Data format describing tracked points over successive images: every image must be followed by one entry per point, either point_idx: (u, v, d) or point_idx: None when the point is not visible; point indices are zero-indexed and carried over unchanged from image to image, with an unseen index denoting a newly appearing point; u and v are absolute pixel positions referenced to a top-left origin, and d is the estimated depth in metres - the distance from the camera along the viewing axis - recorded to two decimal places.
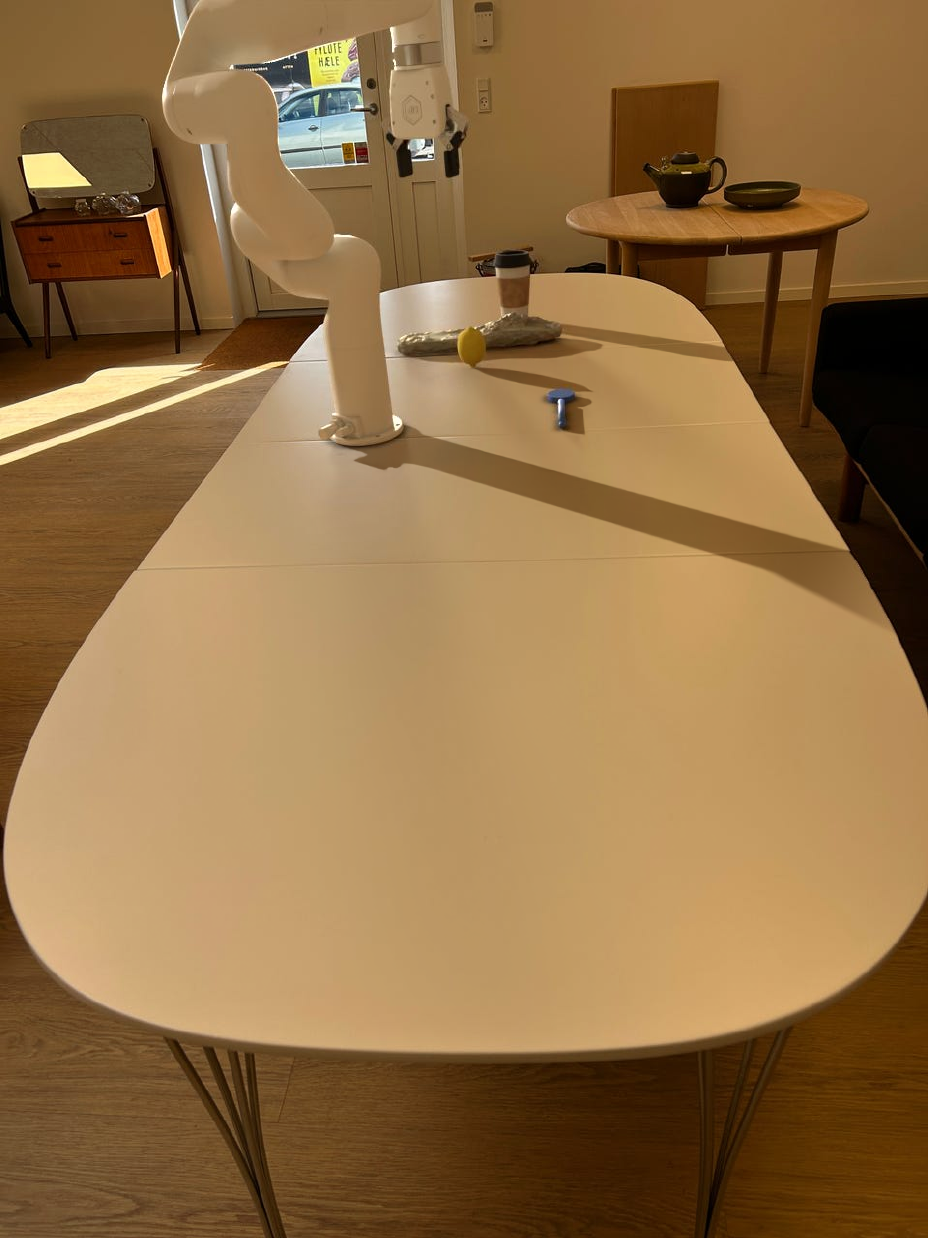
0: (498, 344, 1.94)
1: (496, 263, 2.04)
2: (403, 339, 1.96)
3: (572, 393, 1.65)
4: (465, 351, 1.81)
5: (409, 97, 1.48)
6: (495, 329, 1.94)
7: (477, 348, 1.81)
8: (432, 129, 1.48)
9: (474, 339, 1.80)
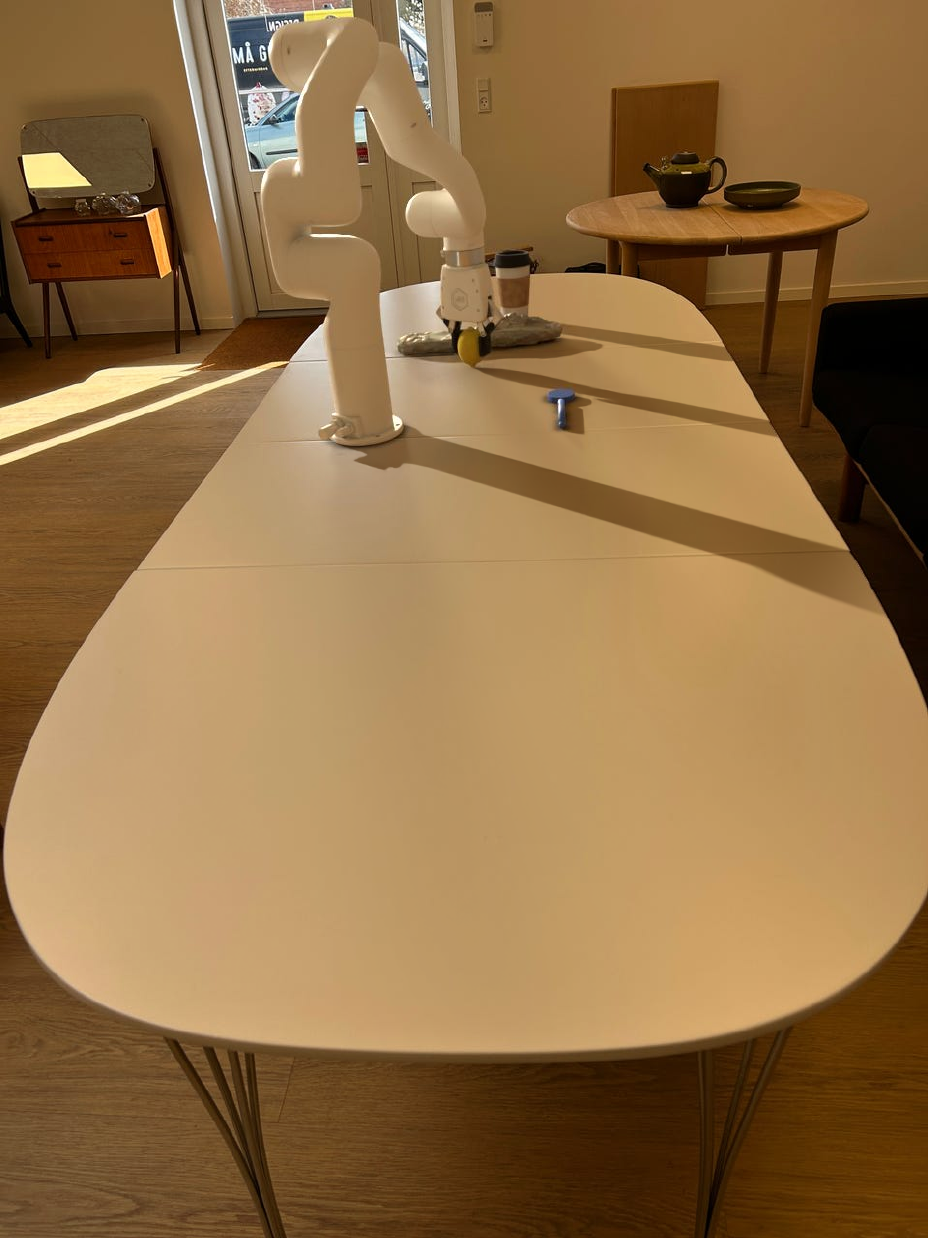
0: (498, 344, 1.94)
1: (496, 263, 2.04)
2: (403, 339, 1.96)
3: (572, 393, 1.65)
4: (465, 351, 1.81)
5: (457, 289, 1.76)
6: (495, 329, 1.94)
7: (477, 348, 1.81)
8: (476, 316, 1.76)
9: (474, 339, 1.80)
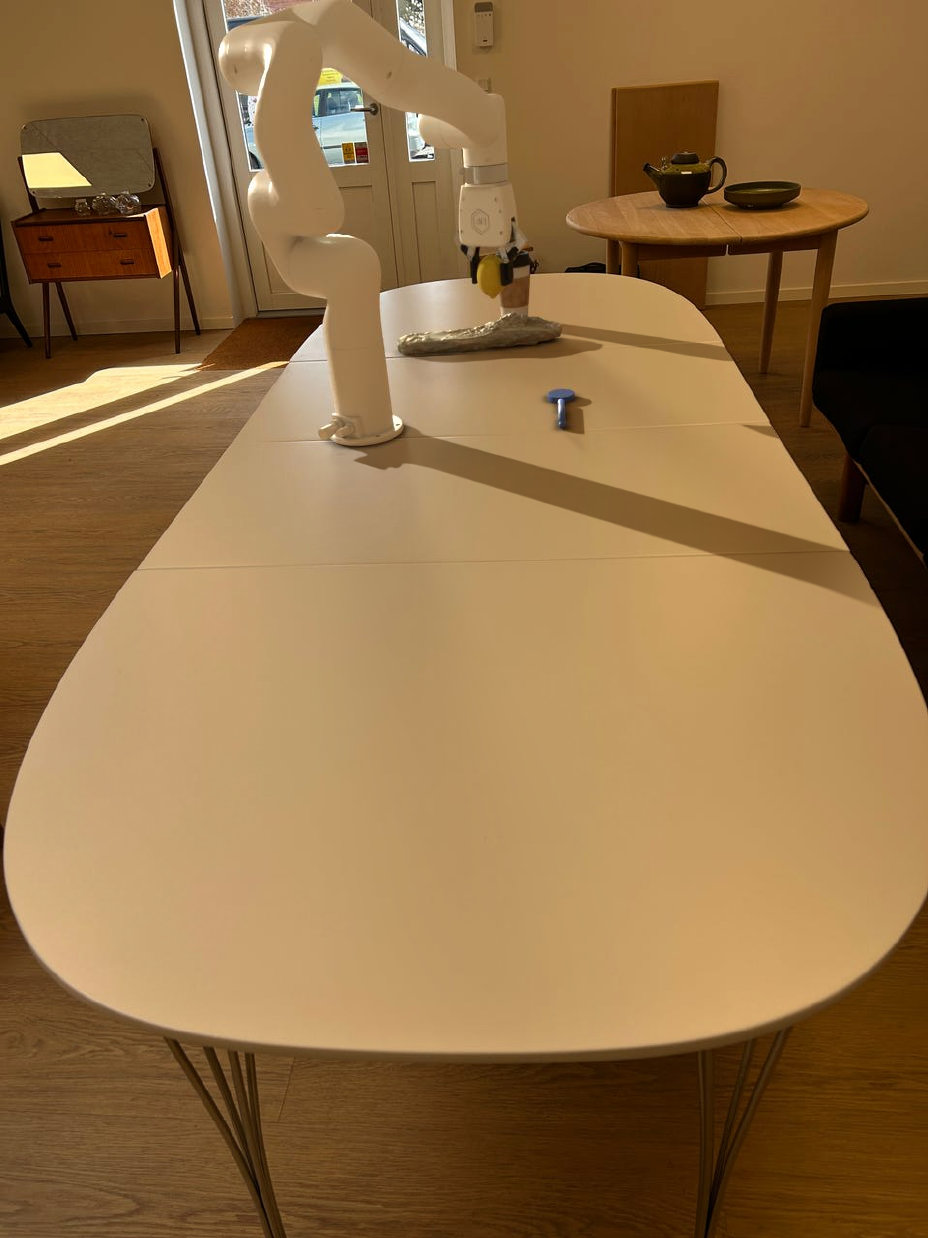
0: (498, 344, 1.94)
1: None
2: (403, 339, 1.96)
3: (572, 393, 1.65)
4: (486, 280, 1.69)
5: (478, 210, 1.63)
6: (495, 329, 1.94)
7: (499, 276, 1.69)
8: (499, 239, 1.63)
9: (495, 266, 1.68)
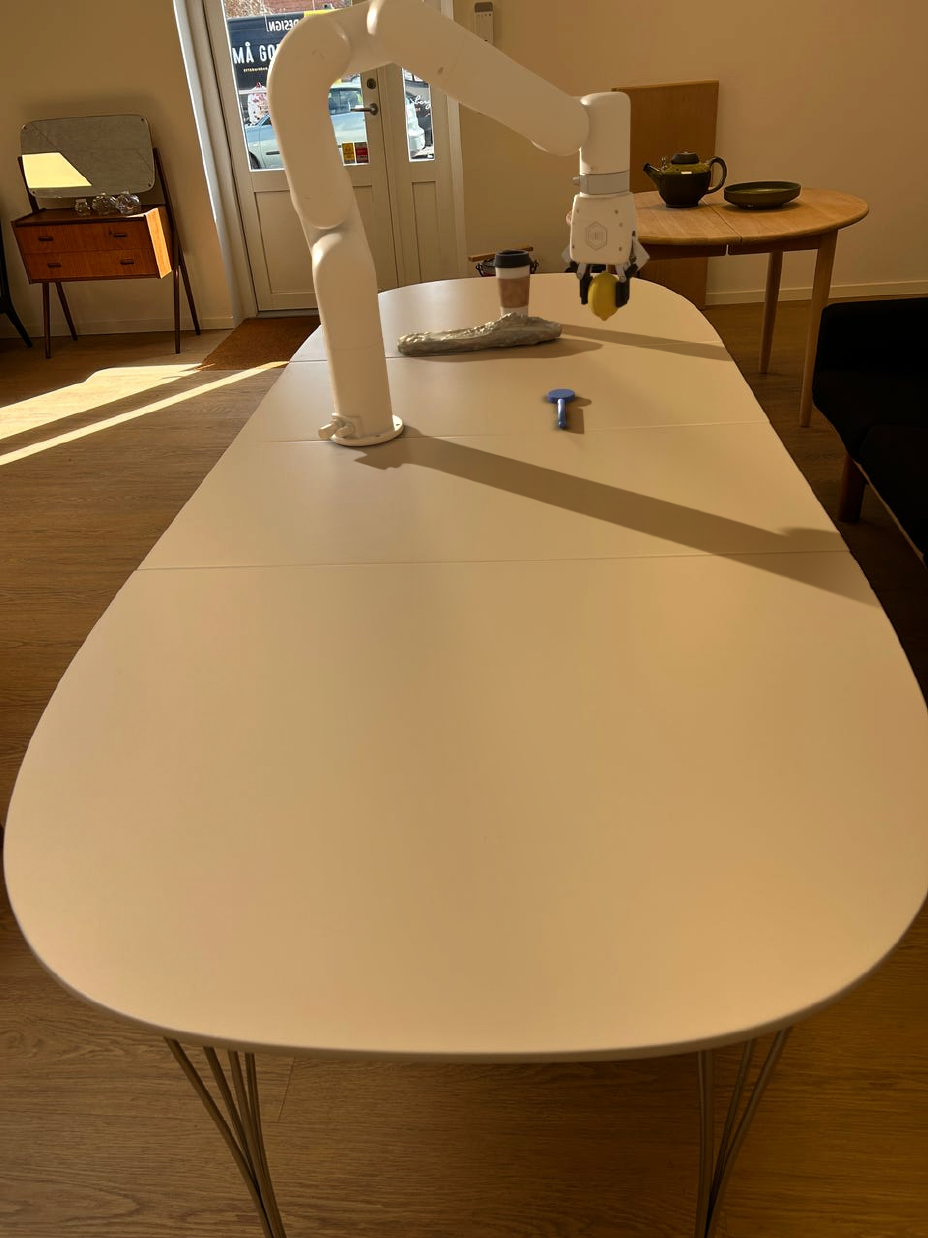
0: (498, 344, 1.94)
1: (496, 263, 2.04)
2: (403, 339, 1.96)
3: (572, 393, 1.65)
4: (599, 301, 1.51)
5: (594, 224, 1.45)
6: (495, 329, 1.94)
7: (614, 297, 1.50)
8: (617, 256, 1.45)
9: (610, 285, 1.50)
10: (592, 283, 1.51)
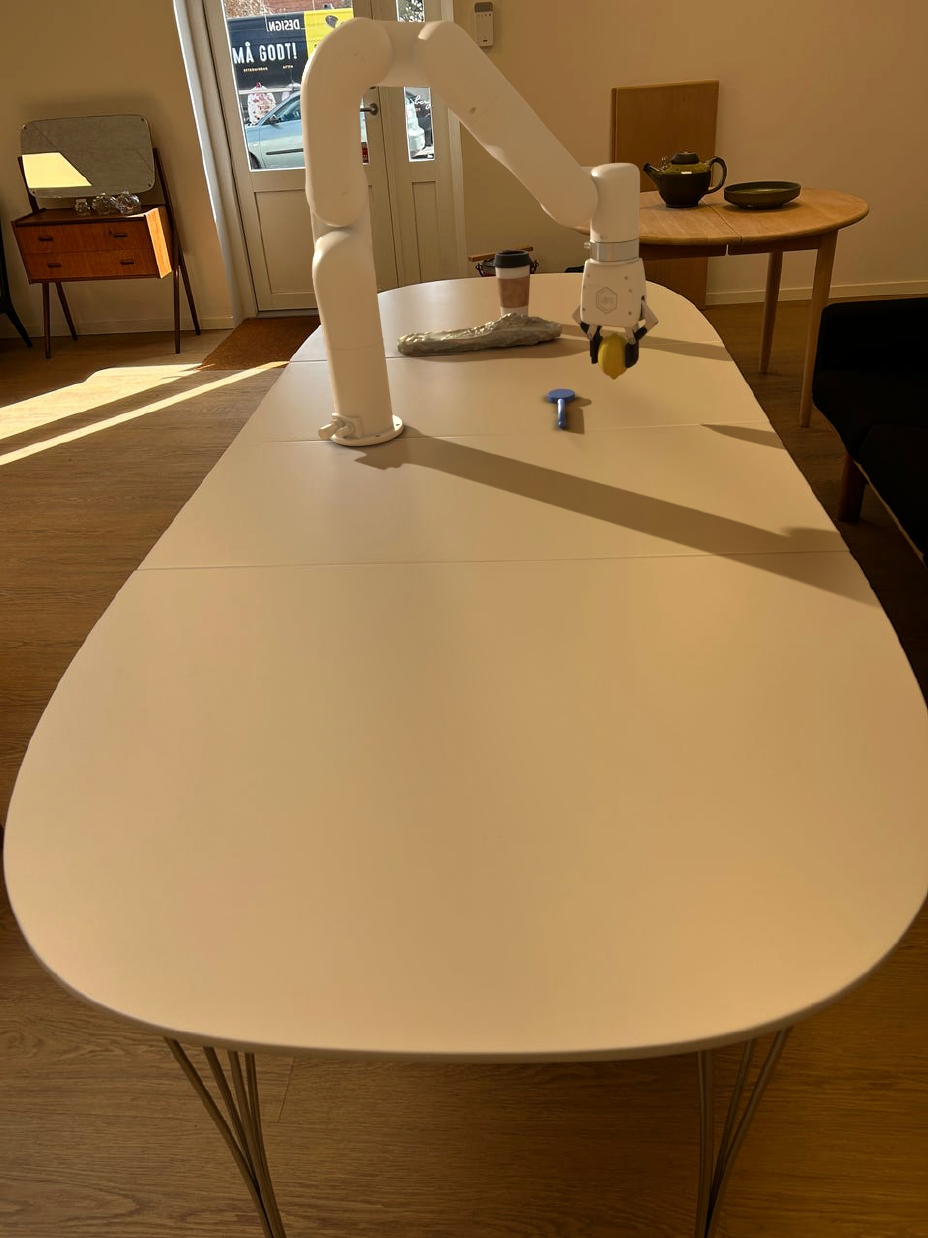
0: (498, 344, 1.94)
1: (496, 263, 2.04)
2: (403, 339, 1.96)
3: (572, 393, 1.65)
4: (609, 361, 1.54)
5: (604, 289, 1.48)
6: (495, 329, 1.94)
7: (623, 358, 1.54)
8: (626, 320, 1.49)
9: (620, 347, 1.53)
10: (602, 344, 1.55)
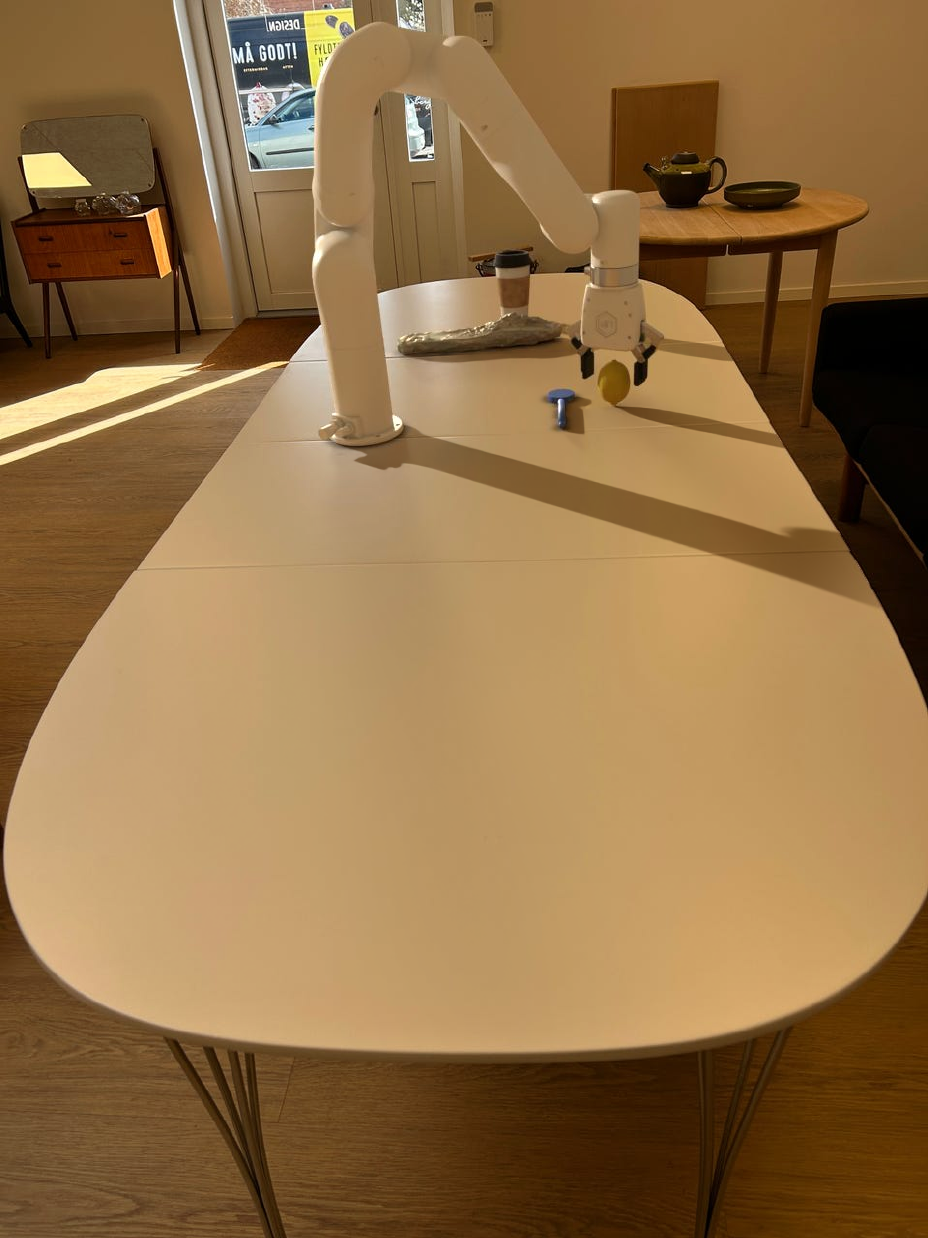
0: (498, 344, 1.94)
1: (496, 263, 2.04)
2: (403, 339, 1.96)
3: (572, 393, 1.65)
4: (609, 388, 1.57)
5: (604, 313, 1.50)
6: (495, 329, 1.94)
7: (623, 385, 1.56)
8: (626, 344, 1.51)
9: (619, 374, 1.56)
10: (602, 371, 1.57)
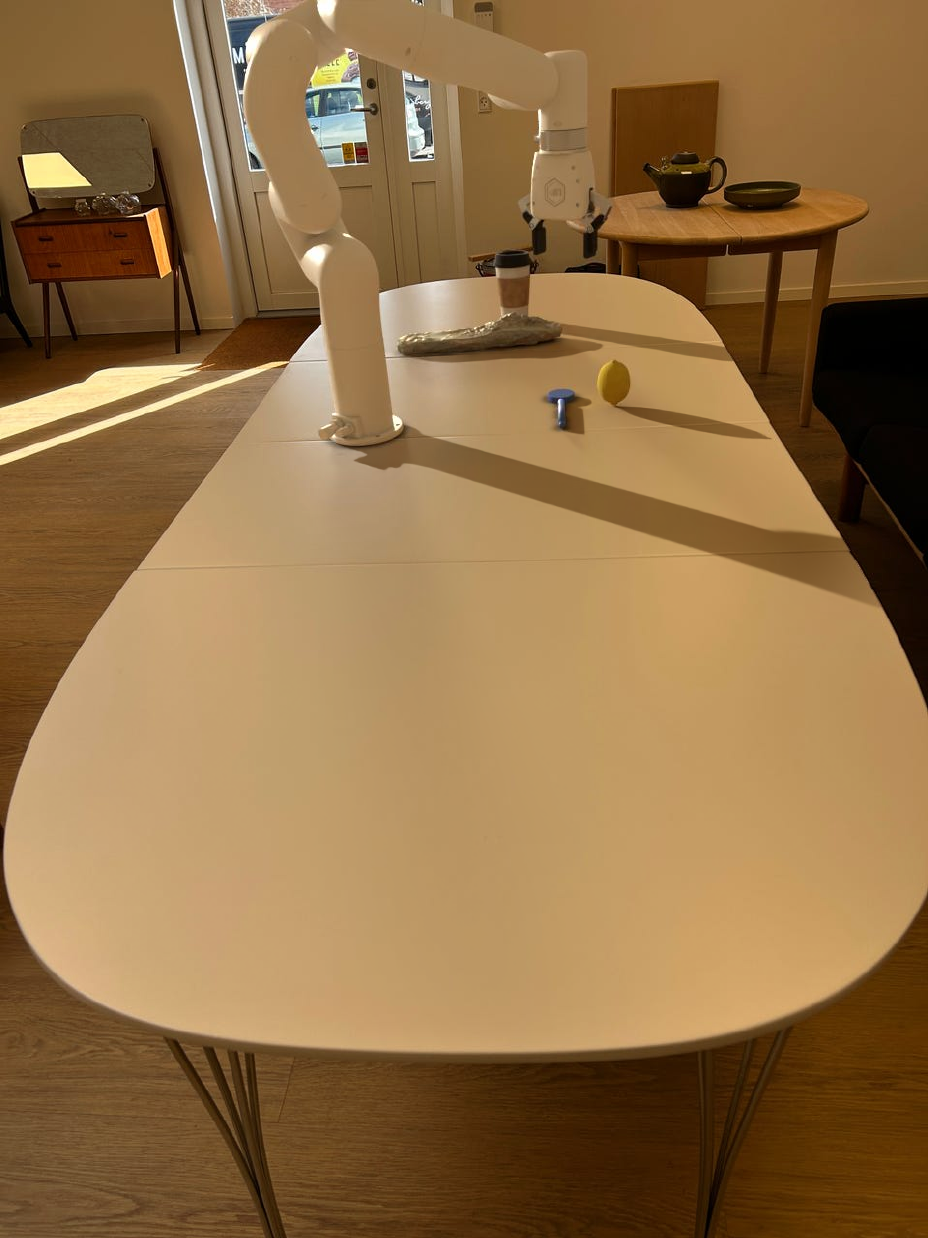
0: (498, 344, 1.94)
1: (496, 263, 2.04)
2: (403, 339, 1.96)
3: (572, 393, 1.65)
4: (609, 388, 1.57)
5: (553, 180, 1.49)
6: (495, 329, 1.94)
7: (623, 385, 1.56)
8: (574, 212, 1.49)
9: (619, 374, 1.56)
10: (602, 371, 1.57)
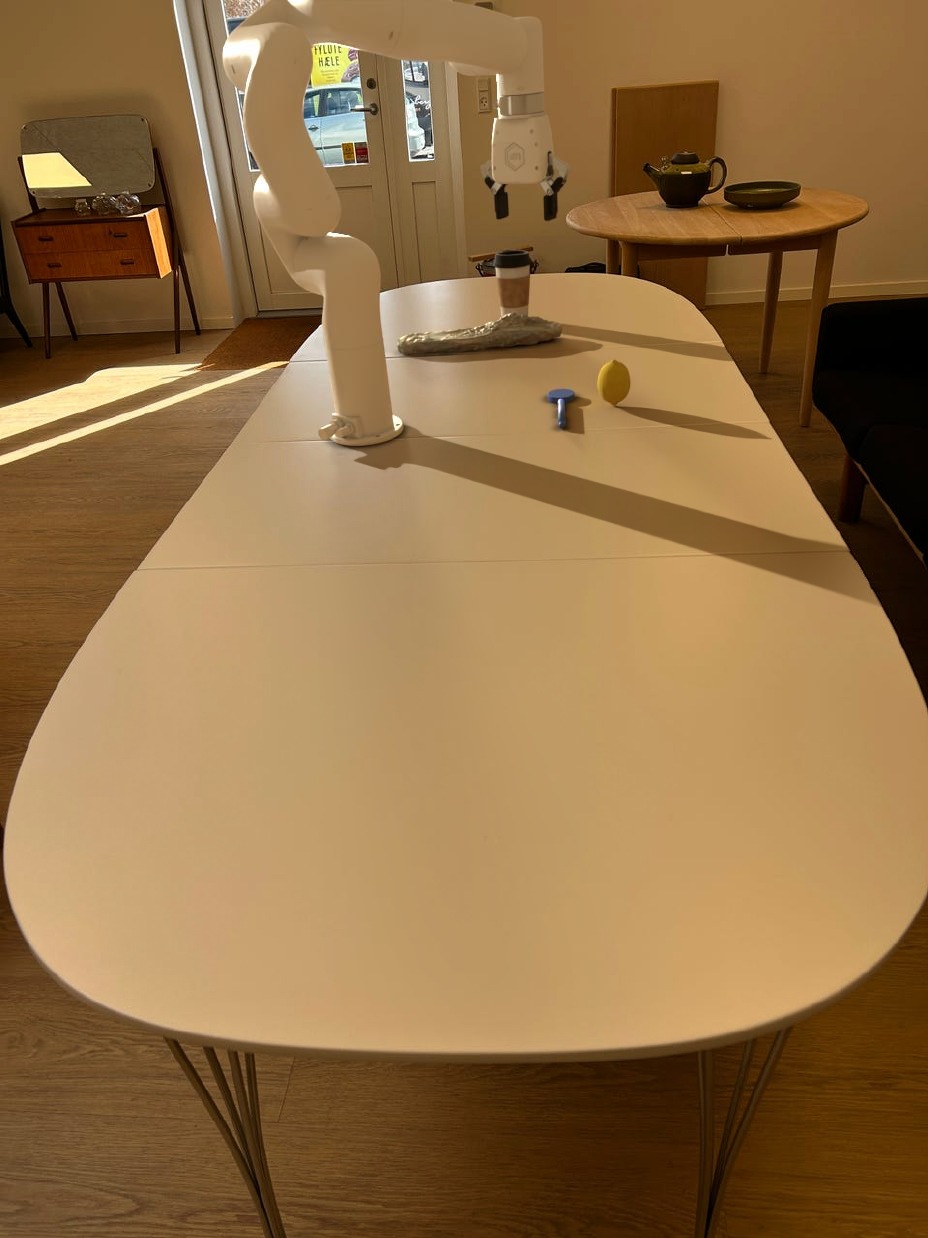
0: (498, 344, 1.94)
1: (496, 263, 2.04)
2: (403, 339, 1.96)
3: (572, 393, 1.65)
4: (609, 388, 1.57)
5: (512, 144, 1.53)
6: (495, 329, 1.94)
7: (623, 385, 1.56)
8: (534, 175, 1.54)
9: (619, 374, 1.56)
10: (602, 371, 1.57)
